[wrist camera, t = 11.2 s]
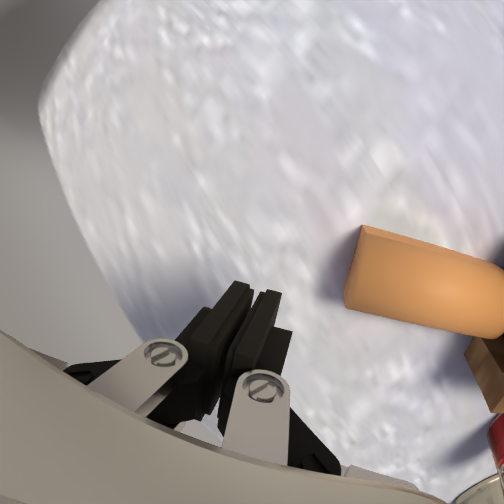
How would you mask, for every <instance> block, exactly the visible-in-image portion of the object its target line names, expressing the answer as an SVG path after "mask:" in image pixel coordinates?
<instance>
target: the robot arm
mask: <svg viewBox="0 0 504 504" xmlns="http://www.w3.org/2000/svg"><path fill="white" fill-rule="evenodd" d="M253 295H254V289H250V285H249V284H246V283H242V282H239V281H234V282H233V283H232V285H231V286H230V287H229V288H228V290H227V291H226V292H225V294H224V295H223V296H222V297H221V299H220V300H219V301H218V302H217V304H216V305H215V306H214V307H213V309H211V308H207V307H203V308H202V309H201V310H200V311H199V313H198V314H197V315H196V316H195V317H194V318H193V320H192V321H191V322H190V323H189V324H188V325H187V327H186V328H185V329H184V330H183V331H182V332H181V334H180V335H179V336H178V337H177V338H176V339H175V341H174V340H171V339H165V338H159V339H153V340H149V341H147V342H145V343H144V344H142V345H141V346H140V347H138V348H137V349H136V350H134V351H133V352H132V353H130V354H129V355H128V356H126V357H125V358H124V359H121V360H113V361H103V362H93V363H83V364H75V365H71V366H69V365H68V363H67V362H64V361H61V360H58V359H56V358H53V357H50V356H48V355H45V354H43V353H40V352H38V351H35V350H32V349H30V348H28V347H27V346H25V345H24V344H22V343H20V342H19V341H18V340H16V339H15V338H13V337H11V336H10V335H8V334H6V333H5V332H3V331H1V330H0V504H447V503H446V502H444V501H443V500H441V499H439V498H437V497H435V496H433V495H430V494H427V493H425V492H422V491H419V490H418V488H417V487H416V486H415V485H414V484H412V483H410V482H408V481H405V480H401V479H397V478H393V477H389V476H386V475H382V474H379V473H375V472H372V471H369V470H366V469H363V468H359V467H356V466H353V465H350V466H349V467H345V466H343V465H340V462H339V461H338V459H337V458H336V457H335V456H334V454H333V453H332V452H331V451H330V450H329V449H328V448H327V447H326V446H325V445H324V444H323V443H322V442H321V441H320V440H319V439H318V437H317V436H316V435H315V434H314V433H313V432H312V431H311V430H310V429H309V428H308V427H307V425H306V424H305V423H304V422H303V421H302V420H301V419H300V418H299V417H298V415H297V414H296V413H295V412H294V411H293V410H292V409H291V407H290V388H289V385H288V383H287V382H286V380H284V379H283V378H282V377H281V373H282V369H283V365H284V362H285V358H286V355H287V351H288V347H289V343H290V340H291V336H292V332H293V331H289V330H285V329H281V328H277V327H274V324H275V320H276V316H277V312H278V308H279V304H280V299H281V295H282V293H280V292H276V291H273V290H269V289H267V290H266V292H260V293H259V295H258V297H257V299H256V301H255V302H254V304H253V306H252V308H251V305H252V300H253ZM219 397H220V402H219V408H218V415H217V418H219V419H218V426H217V427H218V429H219V431H220V432H221V434H222V435H223V437H224V439H223V443H222V447H218V446H215V445H212V444H209V443H207V442H204V441H201V440H198V439H196V438H193V437H190V436H188V435H185V434H183V433H180V431H181V430H182V429H183V427H184V426H185V421H189V420H193V419H195V420H198V421H201V420H202V418H203V416H204V415H205V414H208V415H210V414H211V413H212V411H213V409H214V407H215V405H216V403H217V401H218V399H219ZM455 504H504V497H503V493H502V488H501V484H500V480H499V476H498V474H497V475H494V476H492V477H490V478H488V479H486V480H484V481H482V482H480V483H478V484H477V485H475V486H473V487H472V488H470V489H469V490H467V491H466V492H464V493H463V494H462V495H461V496H460V497H458V499H457V500H456V501H455Z"/></svg>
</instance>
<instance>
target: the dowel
mask: <svg viewBox="0 0 504 504" xmlns="http://www.w3.org/2000/svg"><path fill="white" fill-rule="evenodd" d="M344 301H345V308H347V309H352V310H356V311H360V312H364V313H369V314H373V315H377V316H382V317H386V318H390V319H395V320H399V321H404V322H408V323H413V324H417V325H422V326H427V327H431V328H436V329H441V330H446V331H451V332H456V333H460V334H465V335H470V336H476V337H481V338H486V339H496V338H498V337H499V336H501V335H502V334H503V333H504V271H503V270H502V269H501V268H500V267H498V266H497V265H496V264H493V263H490V262H487V261H484V260H481V259H478V258H475V257H472V256H469V255H466V254H462V253H459V252H456V251H453V250H450V249H447V248H443V247H440V246H437V245H433V244H430V243H427V242H423V241H420V240H416V239H413V238H410V237H406V236H402V235H399V234H395V233H392V232H388V231H384V230H381V229H377V228H373V227H370V226H366V225H362V228H361V232H360V236H359V240H358V243H357V247H356V250H355V254H354V257H353V261H352V264H351V268H350V271H349V274H348V278H347V281H346V284H345V287H344Z"/></svg>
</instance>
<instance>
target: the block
mask: <svg viewBox="0 0 504 504" xmlns="http://www.w3.org/2000/svg"><path fill="white" fill-rule="evenodd" d="M464 356H465V358H466V360H467V362H468V364H469V366H470V368H471V370H472V372H473V374H474V376H475V378H476V380H477V382H478V385H479V387H480V389H481V391H482V393H483V396H484V398H485V400H486V403H487V405H488V407H489V410H490V412H491V413H504V337H503V336H499V337H498V338H496V339H486V338H481V337H476V336H474V337H473V339H472V341H471V343H470V345H469V347H468V349H467V351H466V352H465V354H464Z"/></svg>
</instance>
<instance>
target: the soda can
mask: <svg viewBox="0 0 504 504" xmlns="http://www.w3.org/2000/svg"><path fill="white" fill-rule="evenodd" d="M487 439H488V442H489V445H490V448H491V451H492V455H493V458H494V462H495V465H496V469H497V472H498V476H499V480H500V484H501V488H502V493H503V497H504V413H500V414H499V415H498V416H497V417H496V418H495V419H494V420H493V422H492V423H491V425H490V427H489V429H488V432H487Z"/></svg>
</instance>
